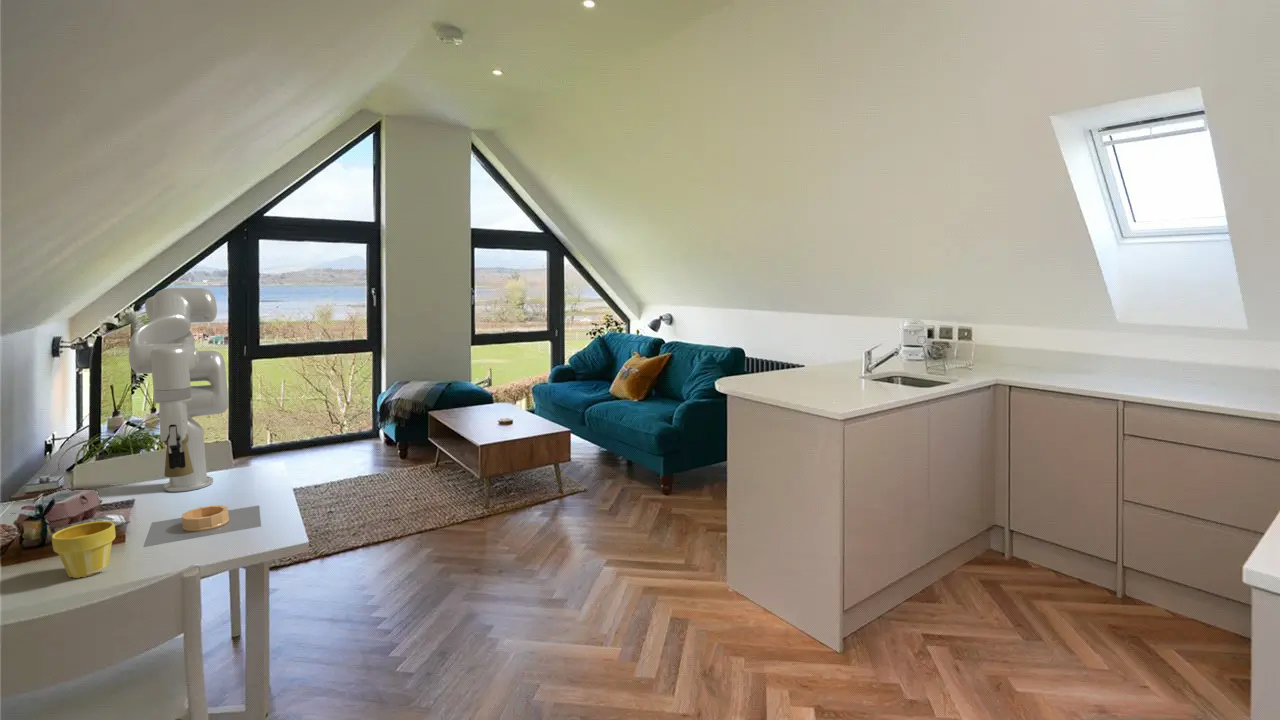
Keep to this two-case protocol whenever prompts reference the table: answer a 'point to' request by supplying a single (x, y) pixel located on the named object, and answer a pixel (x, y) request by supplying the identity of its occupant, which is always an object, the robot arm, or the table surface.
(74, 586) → the table surface
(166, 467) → the cork
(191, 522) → the tan shallow bowl
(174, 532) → the slate board
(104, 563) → the plant pot
